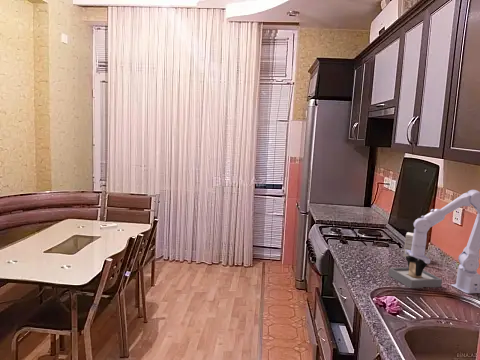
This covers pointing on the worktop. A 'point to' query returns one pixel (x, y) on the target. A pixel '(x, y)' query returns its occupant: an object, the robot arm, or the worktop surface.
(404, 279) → the hole box
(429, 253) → the translucent grey slab
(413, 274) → the peg
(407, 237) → the supplement box
